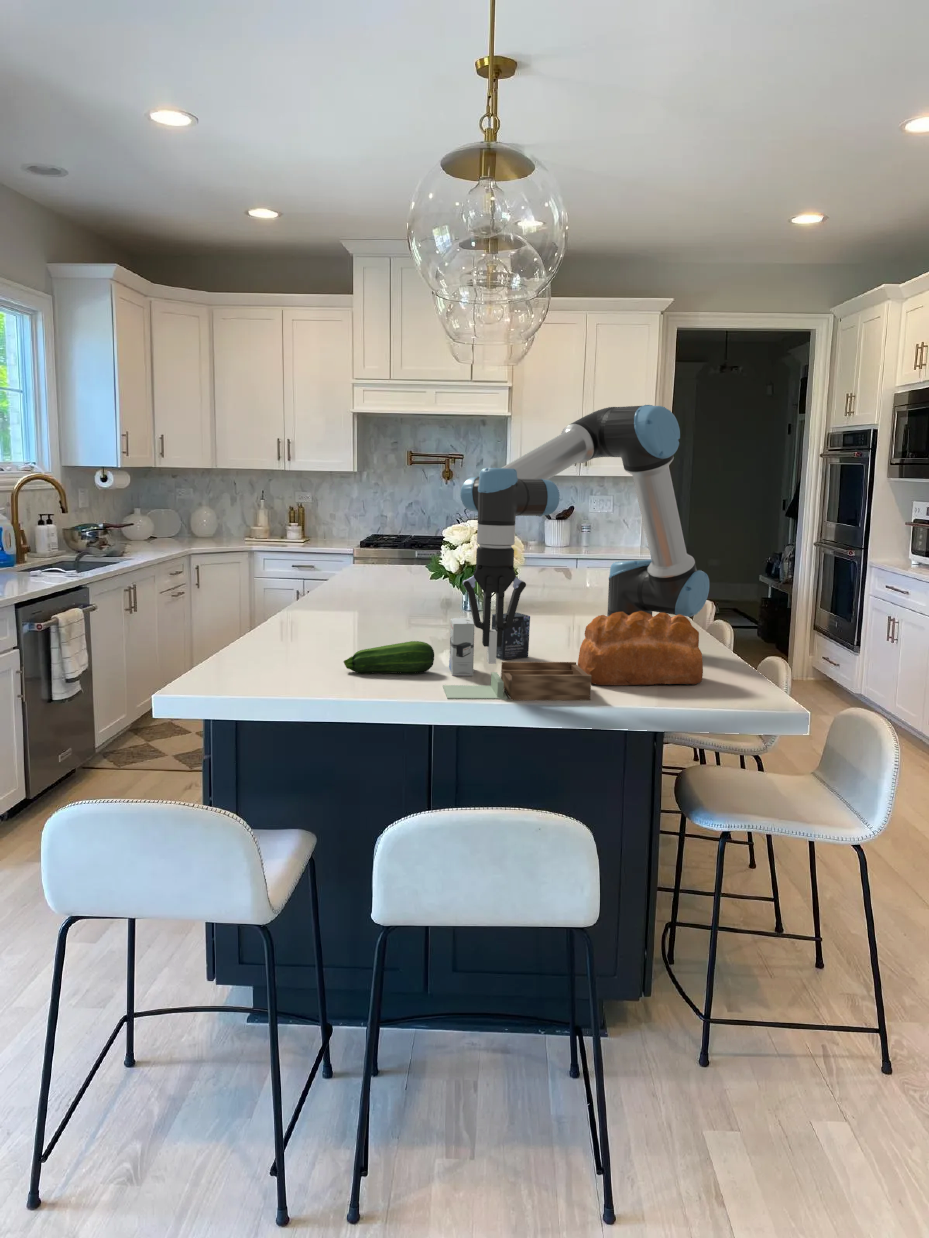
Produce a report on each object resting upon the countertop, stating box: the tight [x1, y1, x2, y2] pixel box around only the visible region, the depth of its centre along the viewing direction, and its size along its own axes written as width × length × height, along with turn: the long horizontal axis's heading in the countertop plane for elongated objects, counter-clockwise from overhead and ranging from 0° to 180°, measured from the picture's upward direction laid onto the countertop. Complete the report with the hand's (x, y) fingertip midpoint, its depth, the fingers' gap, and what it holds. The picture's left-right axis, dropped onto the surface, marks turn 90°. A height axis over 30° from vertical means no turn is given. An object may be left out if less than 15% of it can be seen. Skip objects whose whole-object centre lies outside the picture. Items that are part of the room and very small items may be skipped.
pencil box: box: [500, 661, 592, 701], centre depth 185 cm, size 16×13×5 cm
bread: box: [576, 611, 704, 686], centre depth 198 cm, size 14×26×16 cm, turn 98°
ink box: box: [448, 617, 475, 677], centre depth 201 cm, size 8×5×12 cm, turn 5°
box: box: [490, 612, 531, 661], centre depth 220 cm, size 8×6×11 cm
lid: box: [442, 671, 508, 700], centre depth 183 cm, size 12×10×4 cm
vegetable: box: [342, 640, 435, 675], centre depth 199 cm, size 7×7×20 cm
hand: (491, 662), depth 183 cm, fingers closed
